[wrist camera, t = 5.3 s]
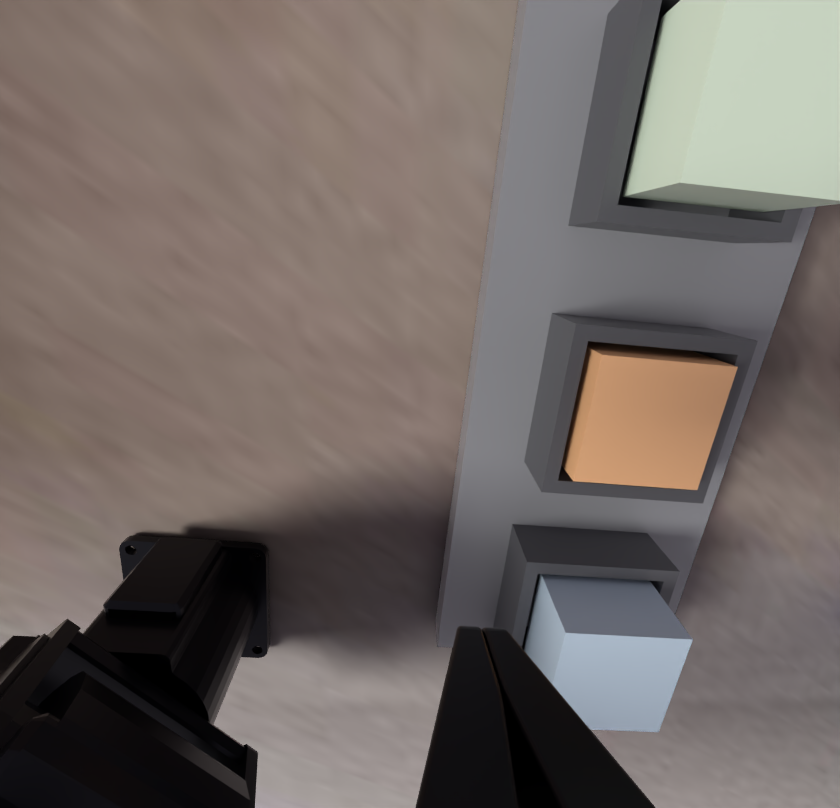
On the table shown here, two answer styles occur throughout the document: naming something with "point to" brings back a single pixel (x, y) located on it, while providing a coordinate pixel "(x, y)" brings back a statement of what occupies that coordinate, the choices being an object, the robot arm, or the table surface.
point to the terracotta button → (645, 415)
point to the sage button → (742, 107)
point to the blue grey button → (608, 649)
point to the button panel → (591, 322)
